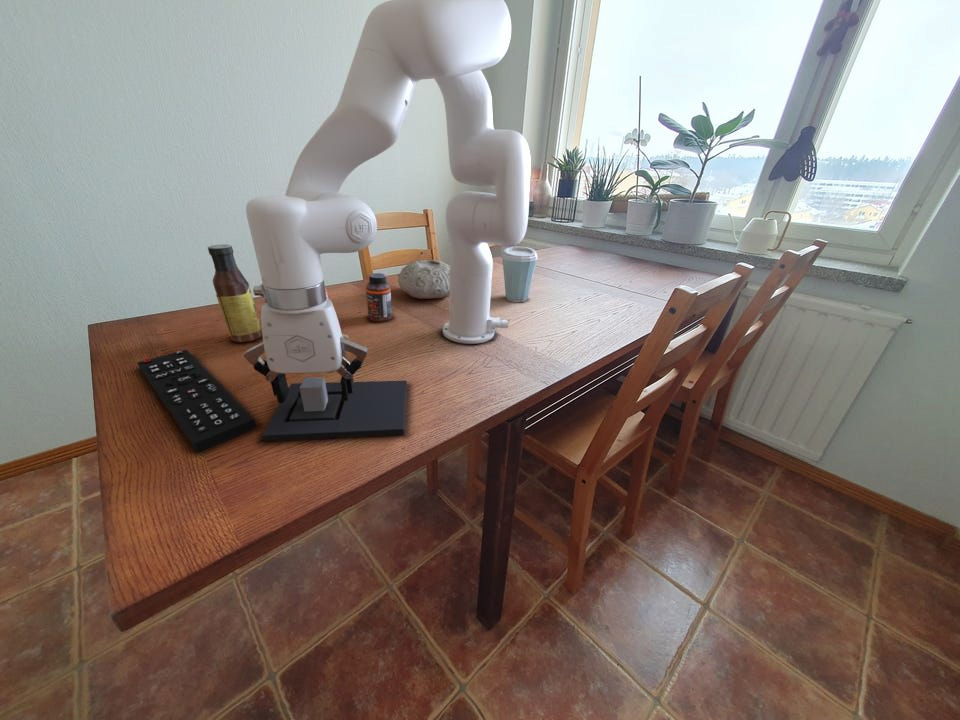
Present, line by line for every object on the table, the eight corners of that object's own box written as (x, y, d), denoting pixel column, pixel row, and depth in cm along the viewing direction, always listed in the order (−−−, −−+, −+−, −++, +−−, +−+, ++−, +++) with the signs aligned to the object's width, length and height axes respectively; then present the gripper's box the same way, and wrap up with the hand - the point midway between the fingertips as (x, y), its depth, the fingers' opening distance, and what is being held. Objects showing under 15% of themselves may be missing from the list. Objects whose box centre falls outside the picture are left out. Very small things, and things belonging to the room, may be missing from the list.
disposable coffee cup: (534, 305, 111) (541, 254, 104) (498, 303, 111) (502, 252, 103) (530, 294, 120) (536, 246, 113) (497, 292, 120) (501, 244, 113)
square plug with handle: (342, 399, 64) (338, 371, 61) (334, 423, 58) (329, 393, 56) (302, 401, 63) (296, 372, 60) (290, 425, 57) (283, 394, 55)
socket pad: (407, 385, 69) (406, 380, 68) (404, 435, 57) (403, 429, 56) (292, 389, 66) (291, 383, 65) (263, 442, 54) (261, 435, 53)
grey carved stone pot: (462, 304, 108) (463, 270, 103) (399, 306, 104) (397, 271, 100) (452, 286, 123) (453, 255, 119) (398, 286, 120) (396, 255, 115)
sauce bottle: (269, 335, 84) (247, 245, 75) (243, 346, 79) (216, 251, 69) (249, 329, 86) (225, 241, 77) (222, 339, 81) (194, 246, 72)
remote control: (188, 355, 74) (185, 347, 73) (256, 427, 57) (253, 416, 56) (139, 369, 69) (135, 359, 68) (197, 452, 51) (193, 441, 50)
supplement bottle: (363, 319, 95) (359, 276, 89) (377, 312, 100) (374, 270, 94) (383, 324, 93) (380, 279, 88) (396, 316, 98) (394, 274, 93)
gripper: (215, 303, 47) (248, 413, 55) (357, 304, 49) (369, 409, 58) (240, 285, 53) (266, 386, 62) (364, 286, 56) (374, 383, 64)
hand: (316, 397), depth 60 cm, fingers open, 9 cm apart
